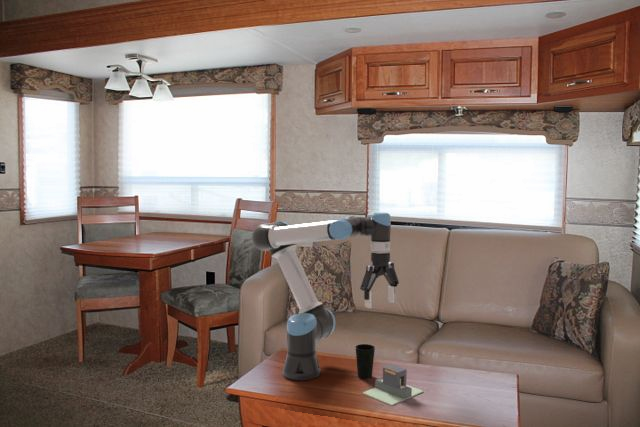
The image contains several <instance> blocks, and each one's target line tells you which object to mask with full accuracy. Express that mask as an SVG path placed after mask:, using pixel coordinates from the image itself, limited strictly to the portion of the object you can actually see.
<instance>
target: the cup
mask: <svg viewBox="0 0 640 427" xmlns="http://www.w3.org/2000/svg"><path fill="white" fill-rule="evenodd" d="M375 349H376V347H375V345H372V344H367V343H361V344H357V345H356V346H355V357H356V358H355V359H356V370H357V371H356V372H357V378H359V379H360V380H361V379H362V380H370V379H372V378H373V369H374V360H375V359H374V358H375Z"/></svg>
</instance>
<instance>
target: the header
mask: <svg viewBox="0 0 640 427" xmlns="http://www.w3.org/2000/svg"><path fill="white" fill-rule="evenodd" d="M374 381H375V382H374V384H375V386H374V387H373V388H371V389H367V390H365V391H363V392H362V395H366V396H368V397H370V398H372V399H375V400H377V401H380V402H381V403H385V404H387V405H388V406H395V405H396V404H399V403H402V402H404V401H406V400H408V399H411V398H412V397H415V396H417V395H420V394H422V393H424V390H421V389H420V388H416V387H413V386H411V385H408V384H406V386H402V385H401V378H400V388H398V389H396V388H394V387H391V386H389V385H386V384H383V376H381V377H380V378H377V379H375V380H374Z"/></svg>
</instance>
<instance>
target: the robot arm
mask: <svg viewBox="0 0 640 427" xmlns="http://www.w3.org/2000/svg"><path fill="white" fill-rule="evenodd" d="M391 223H392V222H391V215H390V213H388V212H372V213H371V216H370V217H369V216H367V217H366V216H364V217H363V216H356V215H355V216H353V215H352V216H345V217H343V218H340V219H333V220H326V221H317V222H310V223H309V222H308V223H299V224H292V225H291V224H289V223H288V222H286V221H273V222H268V223H267V222H266V223H261V224H258V226H256V227H255V228H254V229H253V231H252V232H251V233H252V234H251V241H252V244H253V246H254V247H255V248H256V249H257V250H259V251H262V252H268V251H269V253H270V255H271V258H273V259H274V258H275V259H276V260H277V264H279V267H280V269H281V272H282V273H283V276H284V279H285V280H286V282H287V284H288V287H289V288H290V292H291V293H292V294H291V295H292V296H293V298H294V300H295V302H296V305H297V307H298V308H299V312H298V313H295V314H293V315H291V316H290V317H289V318H288V319H287V322H286V357H285V361H284V365H283V367H282V376H283V377H285V378H287V379H289V380H292V381H293V380H294V381H308V380H309V381H310V380H314V379H316V378H319V376H320V375H321V367H320V363H319V360H318V356H317V343H318V342H320V341H321V340H324V339H325V338H328V337H329V336H330V335H331V334H332V333H333V332H334V330H335V327H336V318H335V316H334V314H333V312H332V311H331V310H328V309H327V308H326V307H325V305H324V303H323V302H322V301H319V300H318V298H317V297H316V294H315V292H314V290H313V287H312V285H311V283H310V280H309V278H308V277H307V274H306V271H305V270H304V268H303V266H302V264H301V261H300V259H299V257H298V255H297V252H296V247H297V245H298V244H306V243H313V242H325V241H335V240H338V241H339V240H341V241H343V240H346V239H350V238H354V237H359V236H361V237H362V236H363V237H370V238H371V239H370V251H371V252H370V261H371V263H372V265H366V267H365V273H364V276H363V279H362V282H361V285H360V288H359V289H360V290H361V291H363V292H364V294H363V295H364V296H363V297H364V298H363V299H364V307H365V308H367V309H372V295H373V294H372V293H373V292H372V291H371V290H372V288H373V287H374V284H375V282H376V280H377V279H378V278H379V277H381V276H383V277H384V278H385V280H386V281H387V283H388V284H389V285H388V286H387V302H388V303H392V304H394V303H395V293H396V287H398V285H399V283H400V282H399V278H398V275H397V272H396V270H395V263H394V262H391V253H390V251H391V229H392V228H391V227H392V226H391V225H392V224H391Z"/></svg>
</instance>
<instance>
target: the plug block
mask: <svg viewBox="0 0 640 427" xmlns="http://www.w3.org/2000/svg"><path fill="white" fill-rule="evenodd" d="M407 373H408V372H407V368H405V367H404V368H403V367H401V366H397V365H395V364H389V365H386V366H383V367H382V377H383V384H386V385H389V386H391V387H394V388H396V389H398V388H400V378H401V385H402V386H406V385H407Z"/></svg>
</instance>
